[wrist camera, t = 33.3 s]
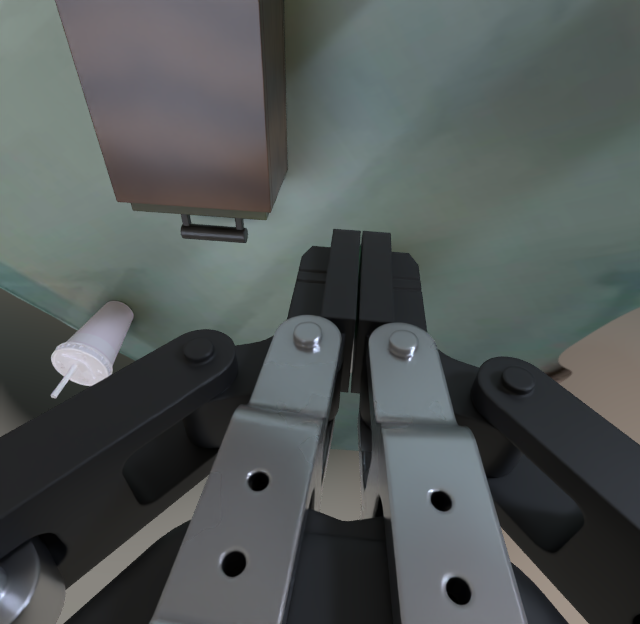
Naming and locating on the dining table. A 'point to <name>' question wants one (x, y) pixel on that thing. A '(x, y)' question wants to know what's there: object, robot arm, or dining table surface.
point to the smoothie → (93, 347)
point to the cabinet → (185, 97)
